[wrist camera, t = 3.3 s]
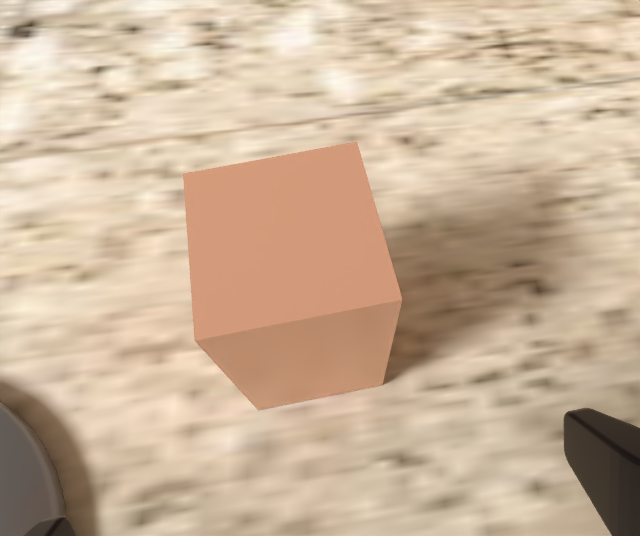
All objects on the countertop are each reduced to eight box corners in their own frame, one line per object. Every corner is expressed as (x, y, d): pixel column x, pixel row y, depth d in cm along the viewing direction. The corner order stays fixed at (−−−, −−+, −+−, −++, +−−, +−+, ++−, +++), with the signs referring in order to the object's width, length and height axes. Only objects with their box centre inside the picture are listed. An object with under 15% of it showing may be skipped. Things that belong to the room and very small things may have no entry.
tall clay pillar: (355, 274, 25) (356, 141, 16) (382, 385, 22) (402, 299, 13) (244, 296, 25) (183, 173, 16) (258, 410, 22) (194, 340, 13)
